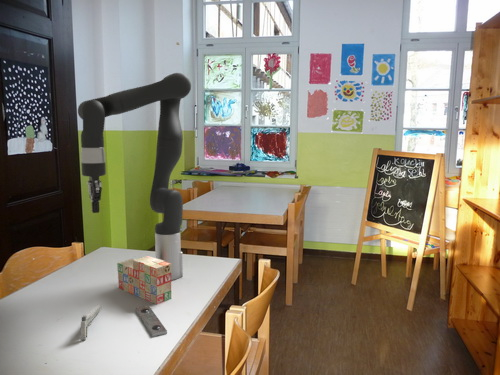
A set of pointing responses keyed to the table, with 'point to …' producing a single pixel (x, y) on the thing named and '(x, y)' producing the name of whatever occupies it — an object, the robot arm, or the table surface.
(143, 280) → the stack of blocks
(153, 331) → the bolt strip
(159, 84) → the robot arm
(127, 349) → the table surface
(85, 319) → the caliper
